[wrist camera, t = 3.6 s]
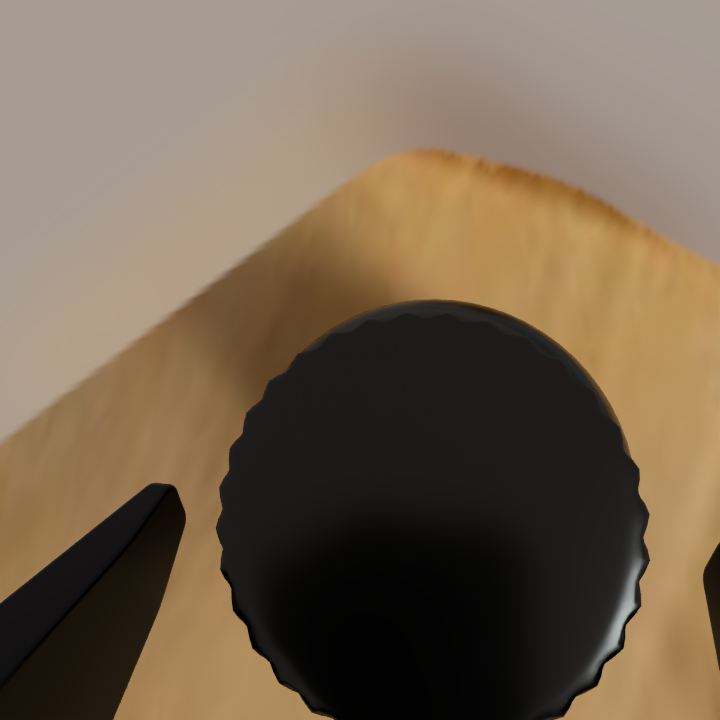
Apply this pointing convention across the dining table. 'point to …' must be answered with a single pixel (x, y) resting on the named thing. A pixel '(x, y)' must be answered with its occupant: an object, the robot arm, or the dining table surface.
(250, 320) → the dining table surface
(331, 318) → the dining table surface
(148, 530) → the robot arm
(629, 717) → the dining table surface
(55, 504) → the dining table surface
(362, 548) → the supplement bottle
